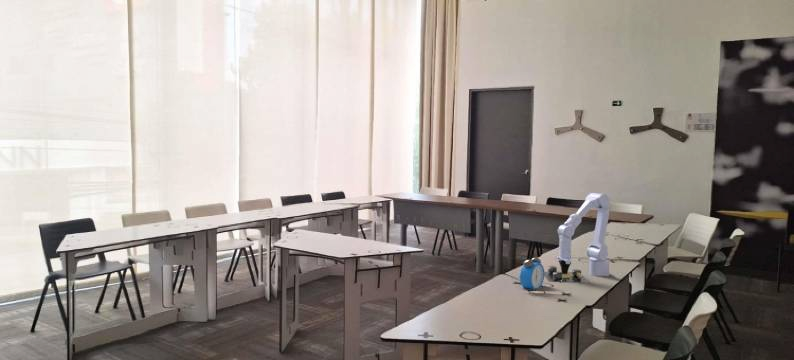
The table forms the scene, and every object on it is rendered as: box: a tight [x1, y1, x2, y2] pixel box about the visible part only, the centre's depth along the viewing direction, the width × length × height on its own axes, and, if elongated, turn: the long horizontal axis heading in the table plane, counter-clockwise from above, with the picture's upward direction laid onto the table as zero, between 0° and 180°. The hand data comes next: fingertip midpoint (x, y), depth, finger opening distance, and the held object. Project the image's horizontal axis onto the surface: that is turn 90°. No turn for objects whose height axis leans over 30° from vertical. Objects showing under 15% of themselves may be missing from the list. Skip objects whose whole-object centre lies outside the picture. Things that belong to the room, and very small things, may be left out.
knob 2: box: [553, 271, 573, 280], centre depth 266 cm, size 10×4×3 cm, turn 85°
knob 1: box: [547, 264, 558, 274], centre depth 281 cm, size 10×4×3 cm, turn 162°
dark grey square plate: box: [544, 271, 590, 284], centre depth 272 cm, size 20×20×2 cm
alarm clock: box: [519, 256, 545, 292], centre depth 253 cm, size 13×6×15 cm, turn 136°
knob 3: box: [571, 269, 583, 278], centre depth 268 cm, size 10×4×3 cm, turn 175°
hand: (564, 274), depth 270 cm, fingers closed
